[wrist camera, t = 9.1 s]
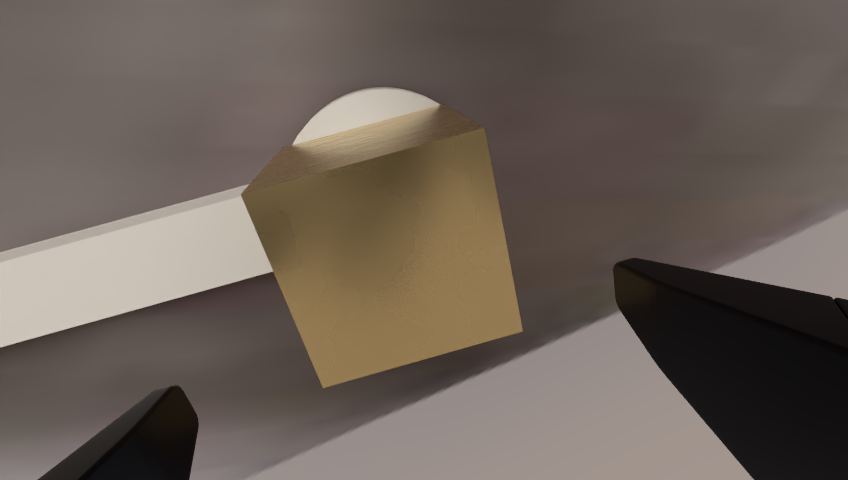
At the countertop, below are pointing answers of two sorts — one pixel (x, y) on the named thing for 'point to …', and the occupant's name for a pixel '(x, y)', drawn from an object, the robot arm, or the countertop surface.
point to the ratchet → (159, 244)
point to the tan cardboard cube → (387, 242)
